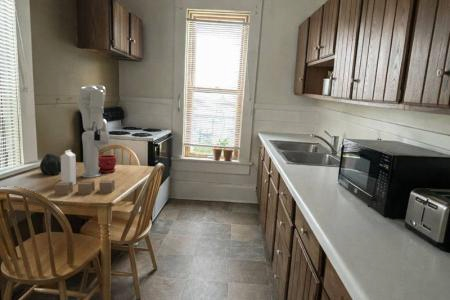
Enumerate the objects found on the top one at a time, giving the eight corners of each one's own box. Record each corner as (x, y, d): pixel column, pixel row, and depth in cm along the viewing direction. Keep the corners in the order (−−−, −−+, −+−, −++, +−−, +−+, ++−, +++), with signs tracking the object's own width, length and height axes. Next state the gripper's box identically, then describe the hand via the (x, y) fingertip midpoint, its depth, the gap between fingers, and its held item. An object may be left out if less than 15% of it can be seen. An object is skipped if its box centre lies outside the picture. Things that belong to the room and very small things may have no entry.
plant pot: (119, 170, 233) (119, 155, 231) (109, 174, 220) (109, 158, 218) (104, 168, 236) (104, 153, 234) (93, 172, 223) (93, 156, 221)
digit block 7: (102, 188, 186) (102, 179, 185) (114, 189, 187) (114, 179, 186) (99, 192, 179) (99, 182, 178) (111, 192, 180) (111, 182, 179)
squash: (72, 165, 219) (58, 148, 218) (58, 170, 204) (43, 153, 203) (58, 176, 222) (45, 160, 220) (44, 182, 207) (30, 165, 206)
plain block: (82, 190, 181) (82, 180, 180) (94, 190, 182) (94, 180, 181) (78, 193, 174) (78, 183, 173) (90, 194, 175) (90, 184, 174)
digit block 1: (60, 191, 177) (59, 181, 176) (72, 191, 178) (72, 181, 177) (55, 195, 170) (54, 184, 169) (68, 195, 171) (67, 184, 170)
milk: (61, 185, 187) (60, 150, 184) (67, 183, 193) (66, 149, 190) (70, 186, 187) (69, 151, 183) (76, 183, 193) (75, 149, 189)
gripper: (94, 109, 189) (94, 138, 192) (86, 110, 175) (86, 142, 178) (106, 110, 190) (107, 139, 193) (99, 111, 176) (99, 142, 178)
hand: (97, 140), depth 185 cm, fingers closed
